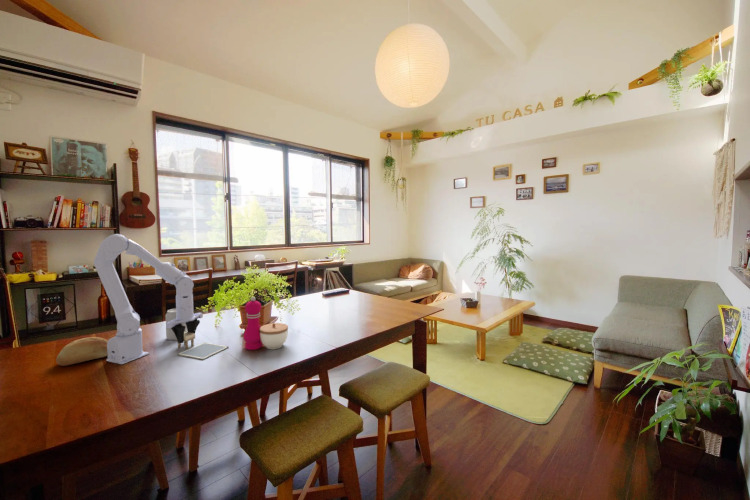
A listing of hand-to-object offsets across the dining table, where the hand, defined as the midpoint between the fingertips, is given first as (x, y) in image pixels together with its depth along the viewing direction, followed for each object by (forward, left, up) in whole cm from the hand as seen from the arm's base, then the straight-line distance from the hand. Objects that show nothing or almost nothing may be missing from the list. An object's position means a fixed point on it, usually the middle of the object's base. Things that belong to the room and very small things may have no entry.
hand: (185, 340), depth 123 cm
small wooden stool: (0, 0, -2) cm, 2 cm away
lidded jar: (+12, -31, -3) cm, 34 cm away
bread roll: (-21, +21, -3) cm, 30 cm away
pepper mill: (+9, -24, -3) cm, 26 cm away
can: (+6, +12, -3) cm, 14 cm away
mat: (-1, -10, -2) cm, 10 cm away
